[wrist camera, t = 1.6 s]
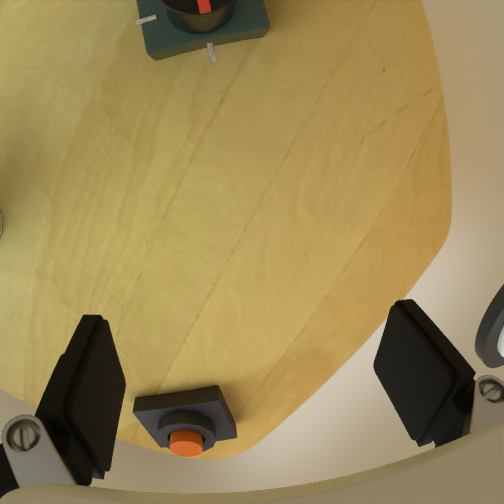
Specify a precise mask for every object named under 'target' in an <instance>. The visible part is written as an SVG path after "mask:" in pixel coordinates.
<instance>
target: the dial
mask: <svg viewBox="0 0 504 504" xmlns="http://www.w3.org/2000/svg"><path fill="white" fill-rule="evenodd" d="M160 1H161V3H162V5H163V8H164V10H165V12H166V14H167V16H168V18H169V20H170V21H171V23H172V24H173V25H174V26H175V27H176V28H177V29H179V30H181V31H183V32H186V33H189V34H198V35H199V34H208V33H211V32H214V31H216V30H218V29H220V28H222V27H223V26H225V25H226V24H227V23H228V22H229V21H230V19H231V18H232V16H233V14H234V11H235V8H236V3H237V0H160Z"/></svg>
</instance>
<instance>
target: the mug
mask: <svg viewBox="0 0 504 504" xmlns="http://www.w3.org/2000/svg"><path fill="white" fill-rule="evenodd" d="M1 233H2V217H1V213H0V236H1Z"/></svg>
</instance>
